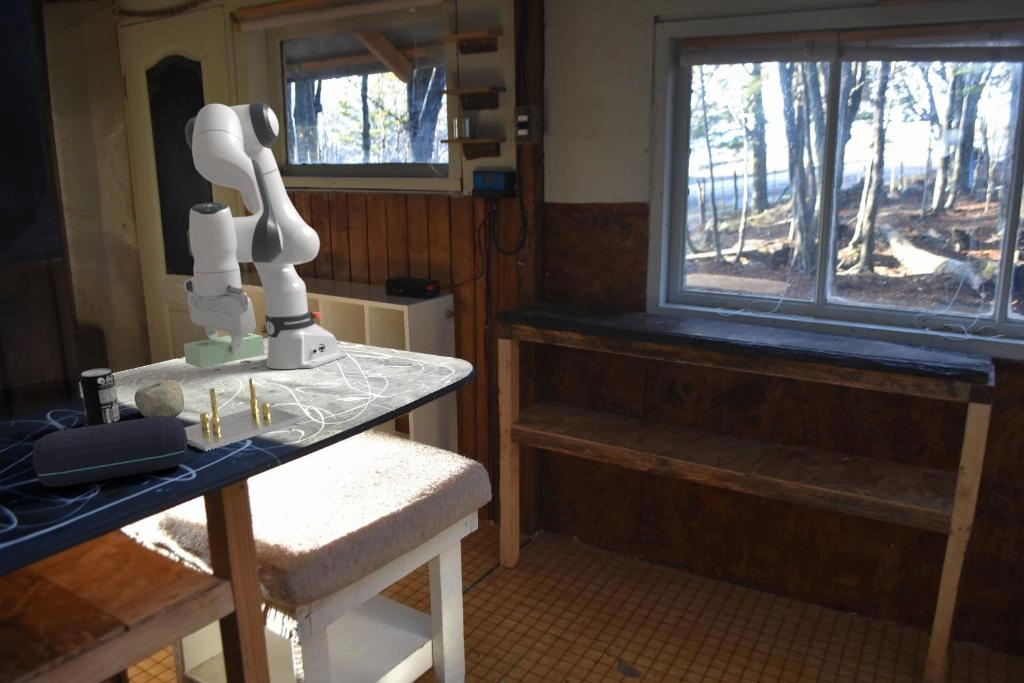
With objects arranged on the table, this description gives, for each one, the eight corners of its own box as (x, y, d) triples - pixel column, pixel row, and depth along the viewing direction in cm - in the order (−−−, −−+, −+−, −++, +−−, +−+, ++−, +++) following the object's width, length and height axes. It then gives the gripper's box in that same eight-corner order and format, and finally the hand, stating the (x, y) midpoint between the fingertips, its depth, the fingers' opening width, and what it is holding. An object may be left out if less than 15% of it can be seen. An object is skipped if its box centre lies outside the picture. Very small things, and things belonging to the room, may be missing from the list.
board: (248, 350, 172) (246, 332, 171) (264, 354, 168) (262, 336, 167) (185, 363, 162) (183, 343, 161) (201, 367, 158) (199, 348, 157)
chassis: (265, 409, 181) (260, 367, 179) (300, 421, 172) (296, 377, 170) (171, 437, 165) (165, 391, 163) (205, 451, 156) (198, 403, 154)
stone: (183, 386, 188) (179, 365, 180) (187, 425, 183) (182, 405, 175) (137, 393, 185) (130, 371, 177) (140, 432, 180) (132, 412, 172)
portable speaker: (189, 454, 155) (183, 406, 153) (191, 472, 146) (184, 421, 144) (43, 479, 146) (33, 427, 143) (35, 499, 137) (25, 445, 134)
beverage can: (89, 422, 177) (81, 370, 174) (122, 417, 179) (114, 366, 177) (85, 431, 171) (76, 377, 168) (119, 426, 173) (111, 373, 171)
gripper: (259, 286, 157) (266, 354, 160) (208, 278, 170) (215, 341, 173) (230, 290, 152) (238, 360, 155) (179, 282, 166) (187, 346, 169)
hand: (225, 350), depth 165 cm, fingers closed on board, 6 cm apart
